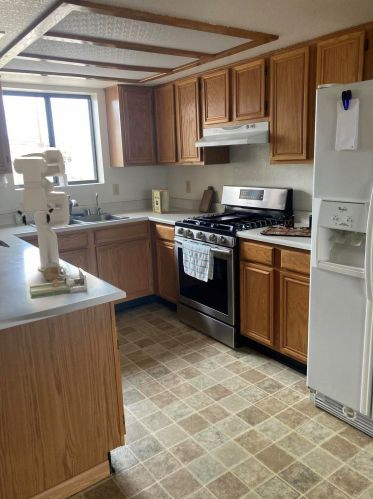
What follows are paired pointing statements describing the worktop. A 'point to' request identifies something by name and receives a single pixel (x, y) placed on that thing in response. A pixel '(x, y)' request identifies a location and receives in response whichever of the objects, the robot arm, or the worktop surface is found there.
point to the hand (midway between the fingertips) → (36, 223)
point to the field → (48, 289)
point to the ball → (71, 283)
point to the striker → (54, 275)
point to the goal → (76, 281)
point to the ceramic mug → (48, 274)
